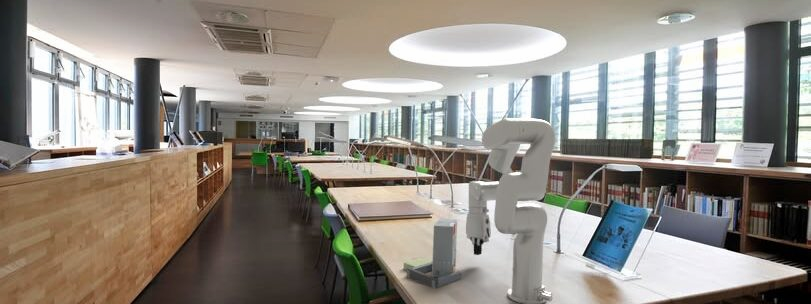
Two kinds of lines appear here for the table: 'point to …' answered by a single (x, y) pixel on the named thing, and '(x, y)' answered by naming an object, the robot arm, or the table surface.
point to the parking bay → (434, 282)
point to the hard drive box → (444, 247)
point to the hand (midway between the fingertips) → (477, 254)
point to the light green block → (416, 263)
